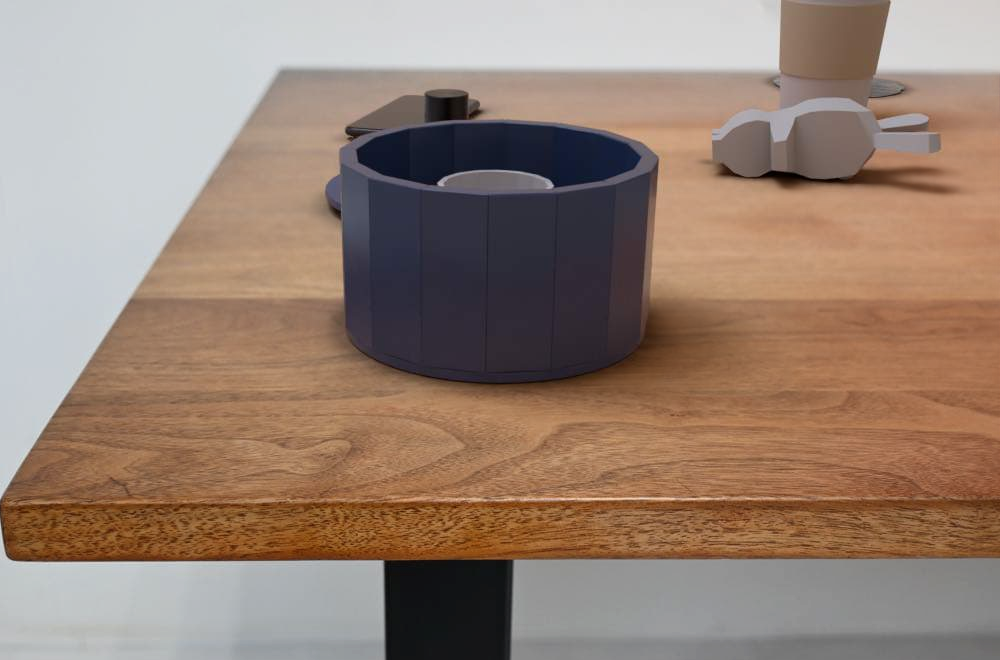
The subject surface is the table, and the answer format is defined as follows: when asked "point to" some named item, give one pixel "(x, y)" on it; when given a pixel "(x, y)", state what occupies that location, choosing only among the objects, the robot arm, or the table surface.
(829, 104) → the bunny figurine
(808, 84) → the coffee cup
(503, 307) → the pot
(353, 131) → the smartphone
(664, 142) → the table surface
